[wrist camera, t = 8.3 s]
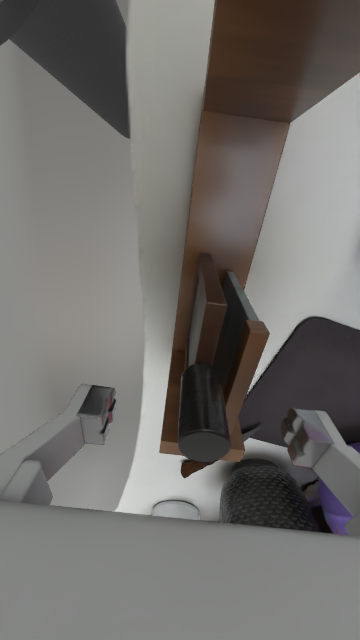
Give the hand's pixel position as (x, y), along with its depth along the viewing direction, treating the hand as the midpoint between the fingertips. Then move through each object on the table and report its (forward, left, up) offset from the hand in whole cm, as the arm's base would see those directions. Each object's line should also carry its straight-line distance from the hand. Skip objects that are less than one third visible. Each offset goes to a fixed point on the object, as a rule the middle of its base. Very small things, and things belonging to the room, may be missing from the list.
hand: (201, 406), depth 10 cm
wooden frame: (+1, +3, -14) cm, 15 cm away
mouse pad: (+22, -14, -14) cm, 29 cm away
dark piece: (0, 0, -12) cm, 12 cm away
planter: (+15, -32, -14) cm, 38 cm away
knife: (+5, -24, -12) cm, 28 cm away
